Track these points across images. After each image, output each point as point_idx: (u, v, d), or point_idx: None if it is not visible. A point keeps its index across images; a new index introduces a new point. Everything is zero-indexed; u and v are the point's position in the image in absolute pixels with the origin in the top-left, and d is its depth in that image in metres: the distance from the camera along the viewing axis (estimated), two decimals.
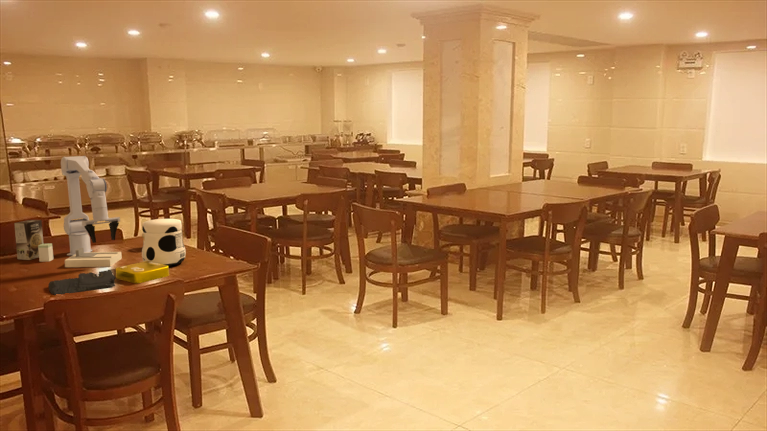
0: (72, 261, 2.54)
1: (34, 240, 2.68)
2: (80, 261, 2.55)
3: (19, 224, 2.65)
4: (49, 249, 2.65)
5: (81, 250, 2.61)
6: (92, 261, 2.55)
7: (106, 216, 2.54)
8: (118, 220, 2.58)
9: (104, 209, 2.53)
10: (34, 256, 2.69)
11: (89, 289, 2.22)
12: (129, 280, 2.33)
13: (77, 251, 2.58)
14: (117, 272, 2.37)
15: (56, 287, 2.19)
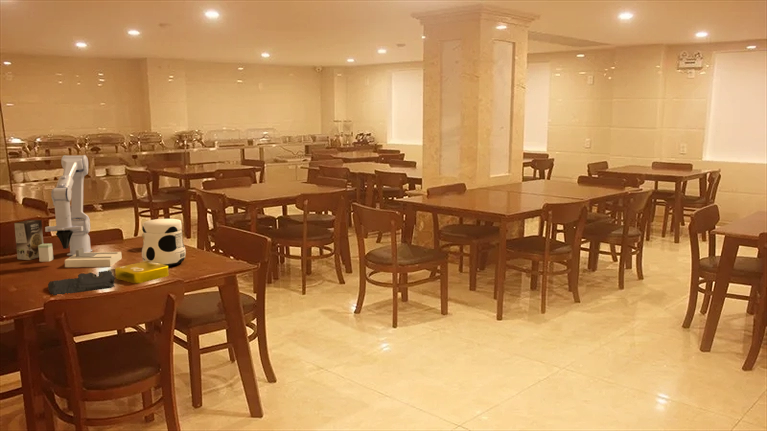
0: (72, 261, 2.54)
1: (34, 240, 2.68)
2: (80, 261, 2.55)
3: (19, 224, 2.65)
4: (49, 249, 2.65)
5: (81, 250, 2.61)
6: (92, 261, 2.55)
7: (65, 225, 2.56)
8: (79, 230, 2.58)
9: (63, 218, 2.56)
10: (34, 256, 2.69)
11: (88, 289, 2.22)
12: (129, 280, 2.33)
13: (77, 251, 2.58)
14: (117, 272, 2.37)
15: (55, 287, 2.19)
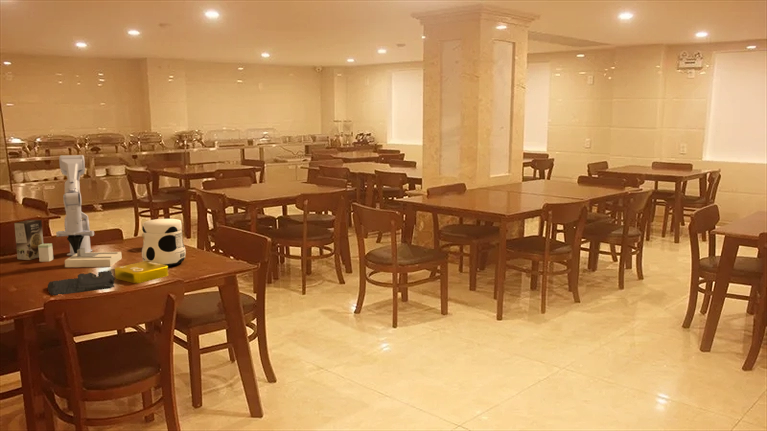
0: (72, 261, 2.54)
1: (34, 240, 2.68)
2: (80, 261, 2.55)
3: (19, 224, 2.65)
4: (49, 249, 2.65)
5: (82, 250, 2.61)
6: (92, 261, 2.55)
7: (76, 230, 2.57)
8: (90, 235, 2.59)
9: (74, 223, 2.56)
10: (34, 256, 2.69)
11: (88, 290, 2.21)
12: (128, 280, 2.33)
13: (78, 251, 2.58)
14: (116, 272, 2.37)
15: (55, 287, 2.19)
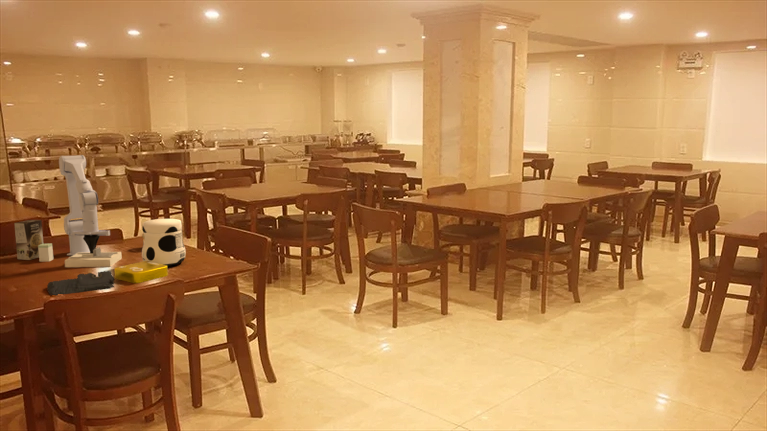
0: (72, 261, 2.54)
1: (34, 240, 2.68)
2: (80, 261, 2.55)
3: (19, 224, 2.65)
4: (49, 249, 2.65)
5: (98, 250, 2.62)
6: (92, 261, 2.55)
7: (92, 230, 2.58)
8: (106, 234, 2.60)
9: (90, 223, 2.57)
10: (34, 256, 2.69)
11: (87, 290, 2.21)
12: (128, 280, 2.33)
13: (94, 251, 2.59)
14: (116, 272, 2.37)
15: (54, 288, 2.19)
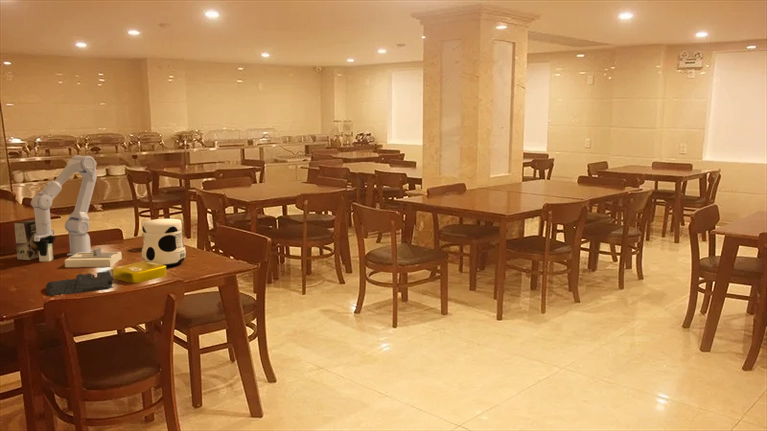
0: (72, 261, 2.54)
1: None
2: (80, 261, 2.55)
3: (19, 224, 2.65)
4: (49, 249, 2.65)
5: (98, 250, 2.62)
6: (92, 261, 2.55)
7: (36, 232, 2.63)
8: None
9: None
10: (34, 256, 2.69)
11: (86, 290, 2.20)
12: (127, 280, 2.33)
13: (95, 251, 2.59)
14: (115, 272, 2.37)
15: (53, 288, 2.18)
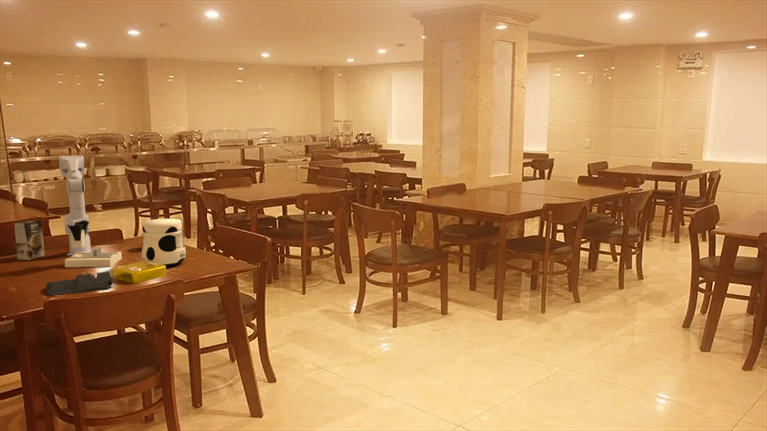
0: (72, 261, 2.54)
1: (34, 240, 2.68)
2: (80, 261, 2.55)
3: (19, 224, 2.65)
4: (81, 235, 2.60)
5: (98, 250, 2.62)
6: (92, 261, 2.55)
7: (70, 216, 2.57)
8: None
9: None
10: (34, 256, 2.69)
11: (85, 291, 2.20)
12: (126, 280, 2.33)
13: (95, 251, 2.59)
14: (114, 272, 2.37)
15: (52, 288, 2.18)
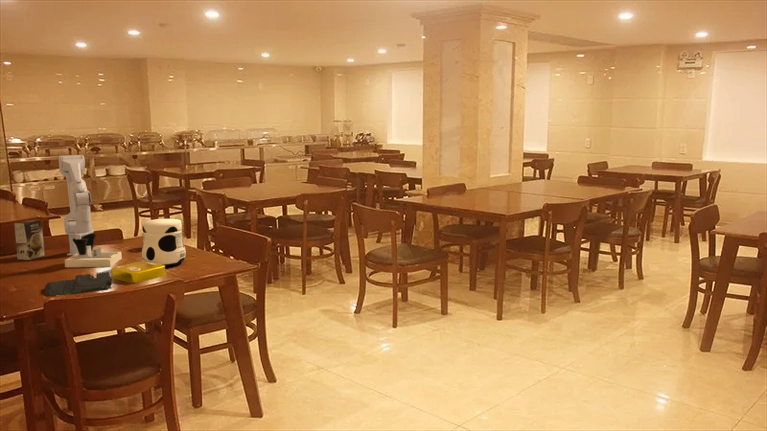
0: (72, 261, 2.54)
1: (34, 240, 2.68)
2: (80, 261, 2.55)
3: (19, 224, 2.65)
4: (88, 251, 2.60)
5: (98, 250, 2.62)
6: (92, 261, 2.55)
7: (76, 230, 2.58)
8: None
9: (76, 223, 2.58)
10: (34, 256, 2.69)
11: (84, 291, 2.20)
12: (125, 280, 2.34)
13: (95, 251, 2.59)
14: (113, 272, 2.37)
15: (51, 289, 2.18)
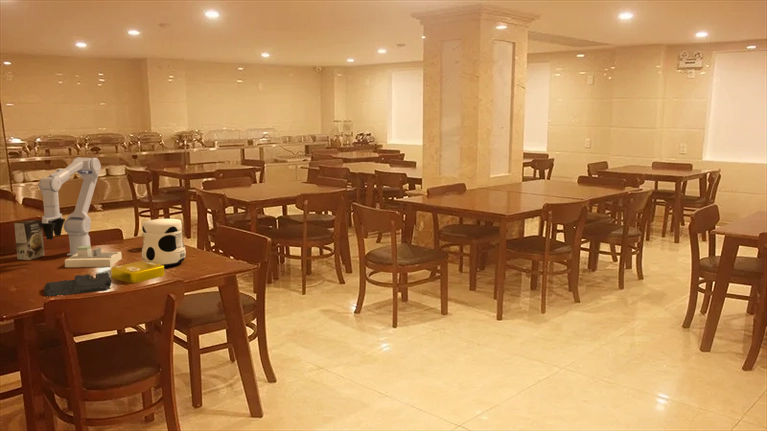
0: (72, 261, 2.54)
1: (34, 240, 2.68)
2: (80, 261, 2.55)
3: (19, 224, 2.65)
4: (88, 251, 2.60)
5: (98, 250, 2.62)
6: (92, 261, 2.55)
7: (44, 214, 2.60)
8: None
9: None
10: (34, 256, 2.69)
11: (83, 292, 2.19)
12: (125, 280, 2.34)
13: (95, 251, 2.59)
14: (113, 272, 2.37)
15: (50, 289, 2.17)
